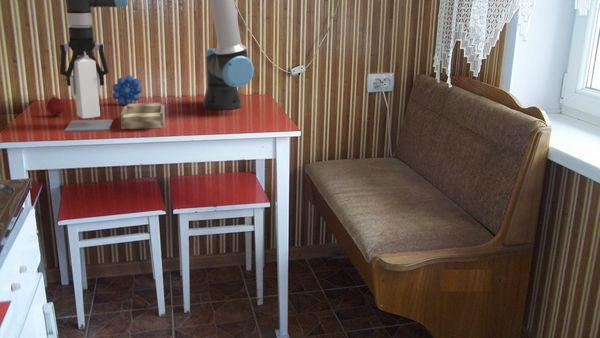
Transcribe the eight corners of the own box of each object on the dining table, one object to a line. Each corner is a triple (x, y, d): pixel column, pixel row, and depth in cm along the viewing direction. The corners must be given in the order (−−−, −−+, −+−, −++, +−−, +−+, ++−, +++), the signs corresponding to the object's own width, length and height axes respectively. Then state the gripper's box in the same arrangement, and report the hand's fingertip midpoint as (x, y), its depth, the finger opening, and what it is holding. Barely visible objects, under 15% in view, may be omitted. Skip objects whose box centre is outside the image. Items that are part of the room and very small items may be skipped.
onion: (68, 116, 222) (65, 95, 220) (52, 119, 218) (50, 97, 216) (60, 114, 226) (58, 92, 223) (45, 116, 222) (42, 94, 219)
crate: (165, 116, 225) (164, 102, 223) (163, 130, 204) (162, 116, 203) (126, 117, 223) (125, 103, 221) (120, 131, 202) (119, 117, 200)
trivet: (113, 121, 216) (113, 119, 216) (108, 130, 203) (108, 129, 203) (72, 122, 214) (71, 120, 214) (64, 132, 201) (64, 130, 201)
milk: (82, 118, 203) (76, 52, 196) (77, 115, 208) (70, 50, 201) (100, 116, 207) (94, 51, 200) (94, 113, 211) (88, 49, 205)
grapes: (144, 103, 247) (142, 73, 243) (142, 106, 241) (140, 76, 237) (115, 103, 245) (112, 73, 242) (112, 106, 239) (109, 76, 235)
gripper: (114, 25, 204) (119, 92, 210) (49, 25, 200) (56, 93, 207) (112, 27, 196) (117, 96, 203) (44, 27, 193) (52, 98, 200)
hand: (86, 95), depth 205 cm, fingers closed on milk, 8 cm apart
